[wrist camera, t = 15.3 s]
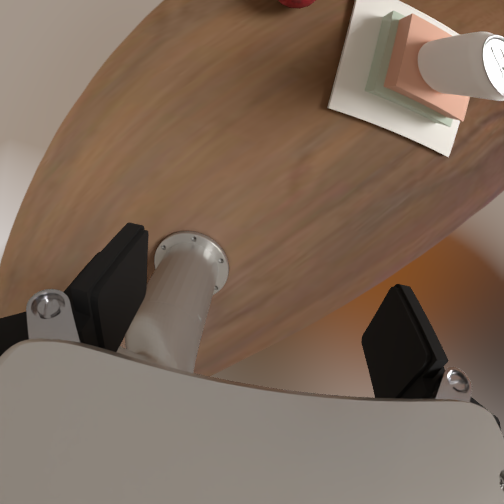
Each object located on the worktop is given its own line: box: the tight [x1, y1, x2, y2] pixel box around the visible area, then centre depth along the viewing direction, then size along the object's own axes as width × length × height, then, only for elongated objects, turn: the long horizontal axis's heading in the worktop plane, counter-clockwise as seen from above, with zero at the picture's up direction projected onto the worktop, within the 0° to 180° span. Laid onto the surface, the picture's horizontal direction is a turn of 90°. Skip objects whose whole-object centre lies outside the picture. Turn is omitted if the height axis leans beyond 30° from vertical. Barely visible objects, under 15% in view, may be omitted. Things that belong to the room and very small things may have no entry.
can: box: [418, 32, 504, 101], centre depth 18 cm, size 6×6×12 cm
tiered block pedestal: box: [327, 0, 470, 157], centre depth 27 cm, size 20×20×9 cm
